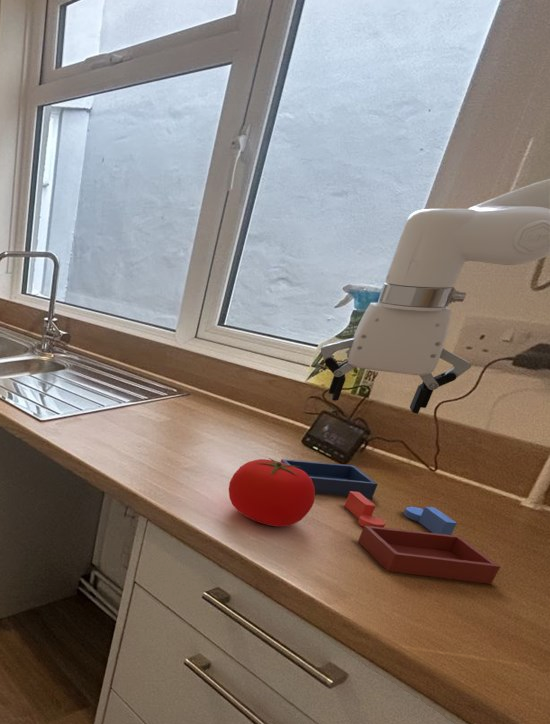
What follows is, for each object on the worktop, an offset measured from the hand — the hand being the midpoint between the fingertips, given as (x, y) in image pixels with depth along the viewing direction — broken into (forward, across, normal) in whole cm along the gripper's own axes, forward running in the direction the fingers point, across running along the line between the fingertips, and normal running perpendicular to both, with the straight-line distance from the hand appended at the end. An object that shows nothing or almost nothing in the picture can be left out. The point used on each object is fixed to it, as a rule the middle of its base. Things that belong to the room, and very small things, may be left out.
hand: (372, 404), depth 85 cm
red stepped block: (+20, -4, +1) cm, 20 cm away
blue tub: (+20, +2, -10) cm, 22 cm away
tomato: (+20, +10, +11) cm, 25 cm away
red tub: (+20, -10, +11) cm, 25 cm away
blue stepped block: (+20, -12, -3) cm, 23 cm away
